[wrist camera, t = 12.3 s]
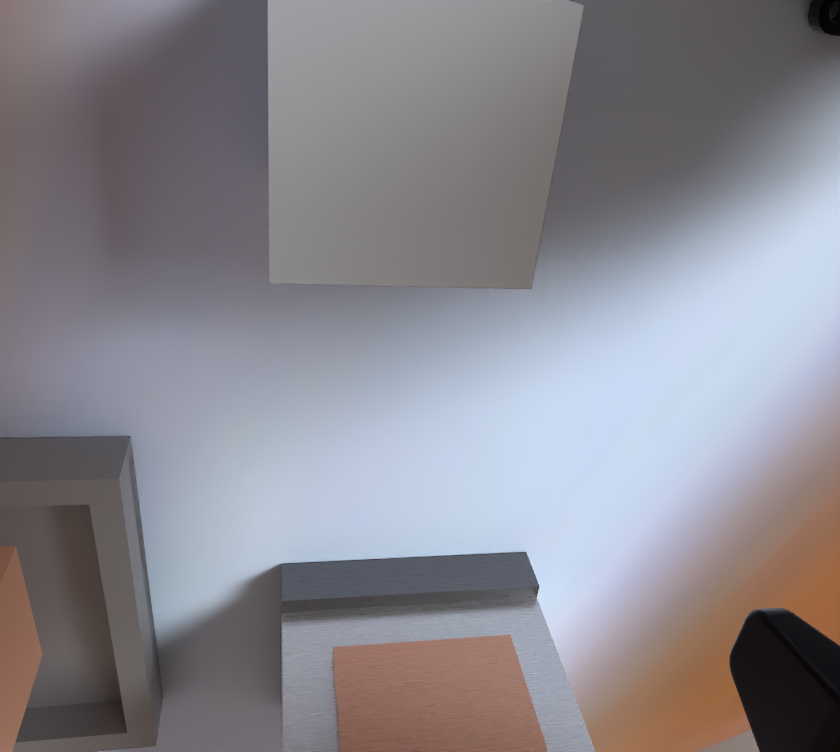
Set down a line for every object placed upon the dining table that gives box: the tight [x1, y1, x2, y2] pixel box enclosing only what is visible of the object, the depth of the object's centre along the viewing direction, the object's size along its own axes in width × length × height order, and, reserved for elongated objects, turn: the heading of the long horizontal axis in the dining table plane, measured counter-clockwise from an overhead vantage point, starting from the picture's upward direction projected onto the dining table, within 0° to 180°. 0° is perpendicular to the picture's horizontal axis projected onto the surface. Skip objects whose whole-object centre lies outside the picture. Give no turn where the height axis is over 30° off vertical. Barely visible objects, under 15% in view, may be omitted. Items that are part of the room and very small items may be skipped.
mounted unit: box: [281, 552, 595, 752], centre depth 23 cm, size 8×7×8 cm
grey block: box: [268, 0, 584, 289], centre depth 14 cm, size 4×4×6 cm
